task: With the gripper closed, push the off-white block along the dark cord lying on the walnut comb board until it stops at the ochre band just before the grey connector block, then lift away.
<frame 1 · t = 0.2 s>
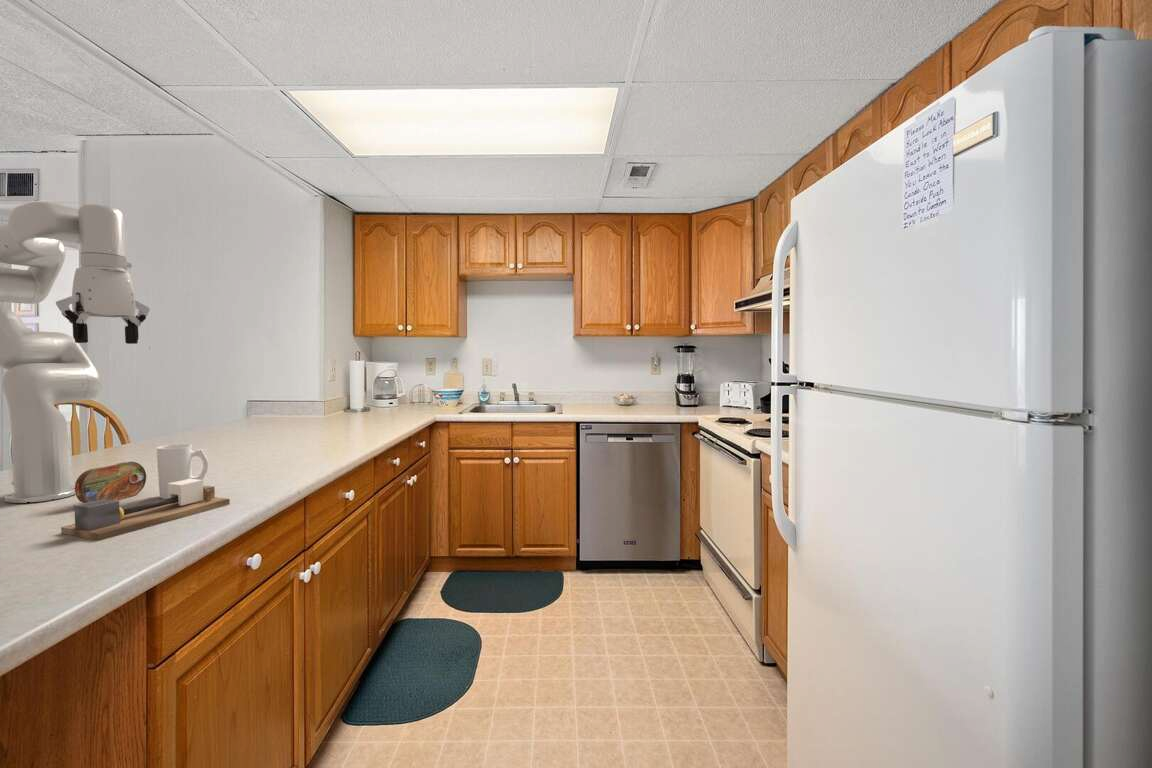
hand: (107, 343, 121), 36 cm above the countertop, tool pointing down, fingers open, 9 cm apart
tin: (112, 501, 129), on the countertop
mug: (184, 495, 134), on the countertop
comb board: (153, 517, 116), on the countertop
off-white block: (185, 491, 122), point 4 cm above the countertop, slide at 0.0 cm
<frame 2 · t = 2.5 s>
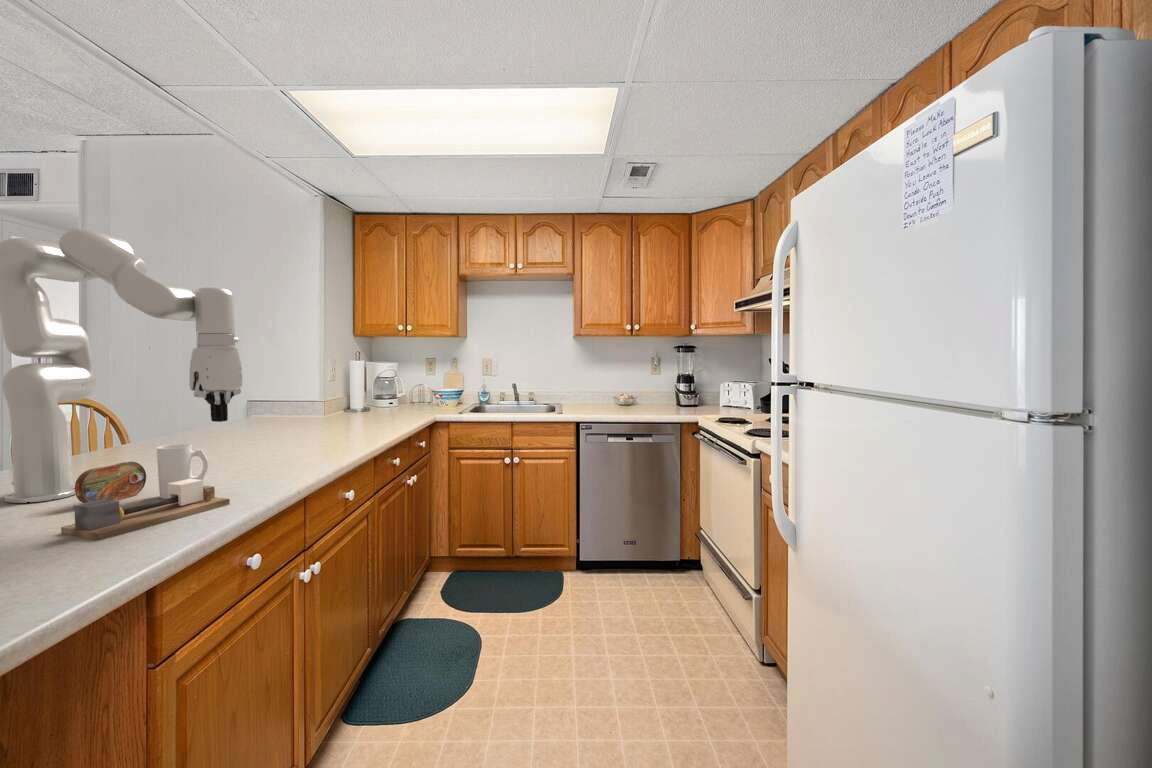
hand: (219, 420, 129), 19 cm above the countertop, tool pointing down, fingers closed
nothing on the countertop moved.
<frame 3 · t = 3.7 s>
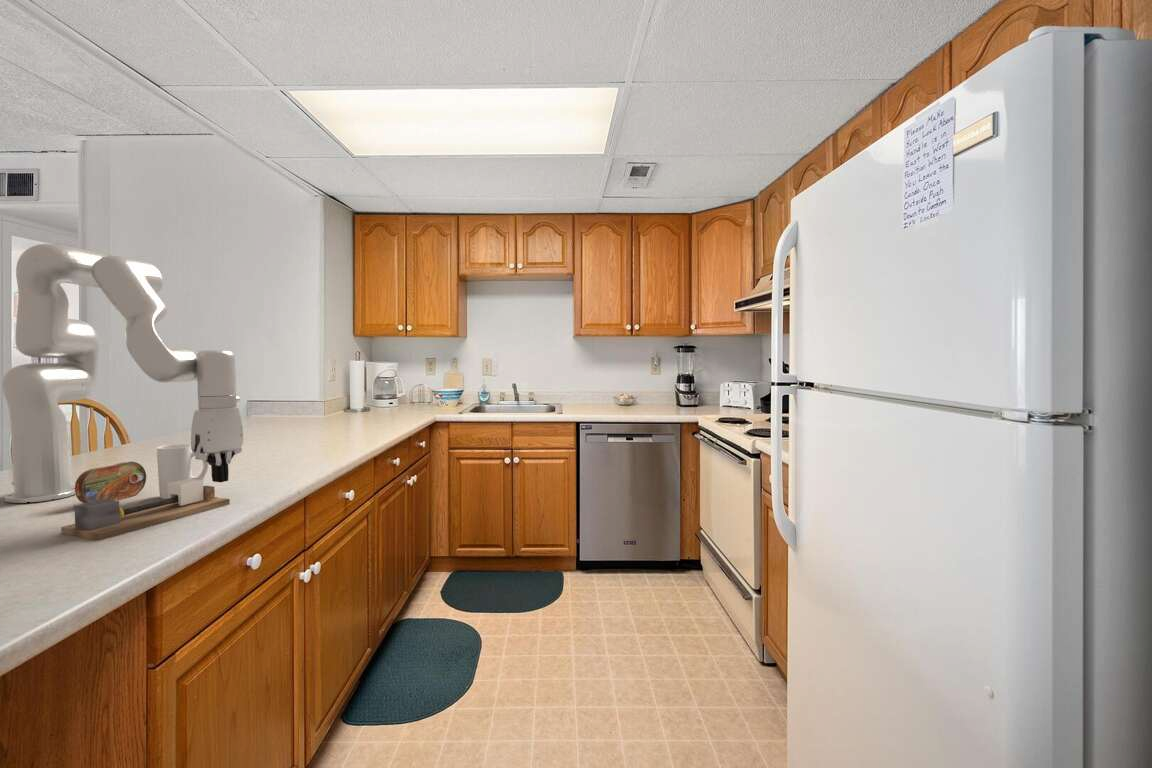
hand: (220, 481, 130), 4 cm above the countertop, tool pointing down, fingers closed
nothing on the countertop moved.
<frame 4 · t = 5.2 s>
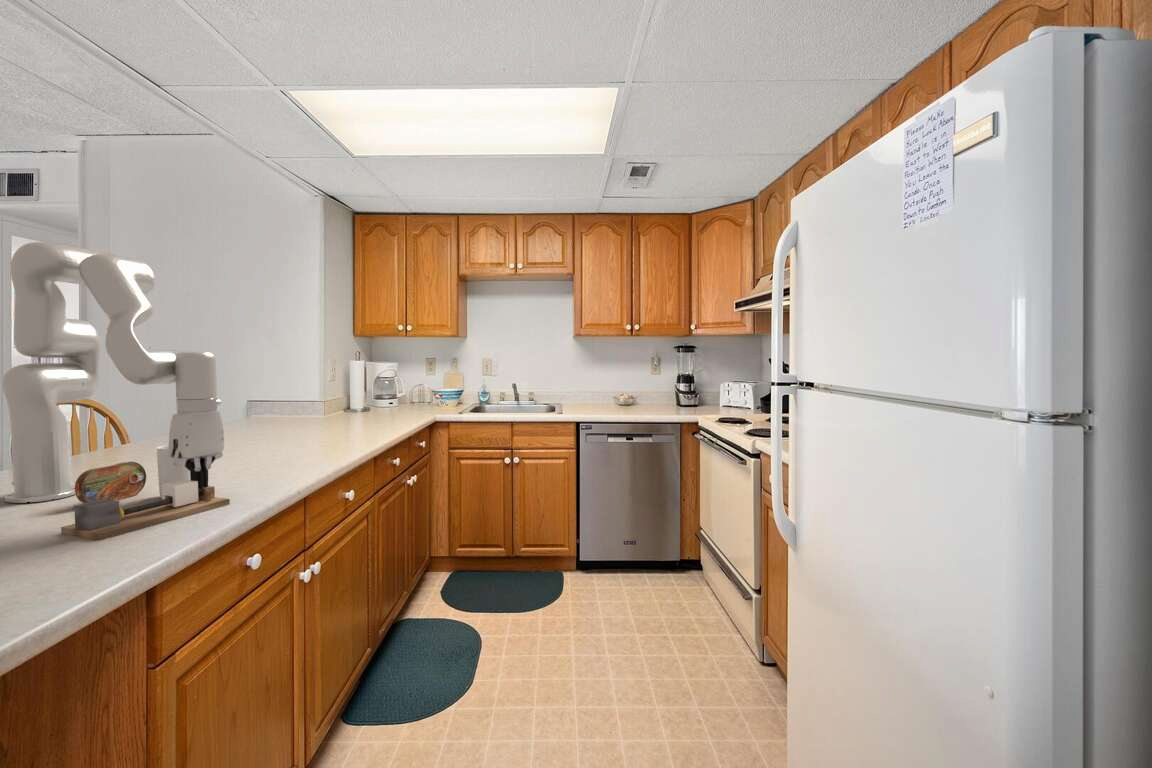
hand: (199, 487, 125), 4 cm above the countertop, tool pointing down, fingers closed
off-white block: (180, 493, 121), point 4 cm above the countertop, slide at 1.2 cm, touching gripper
everything else where it was.
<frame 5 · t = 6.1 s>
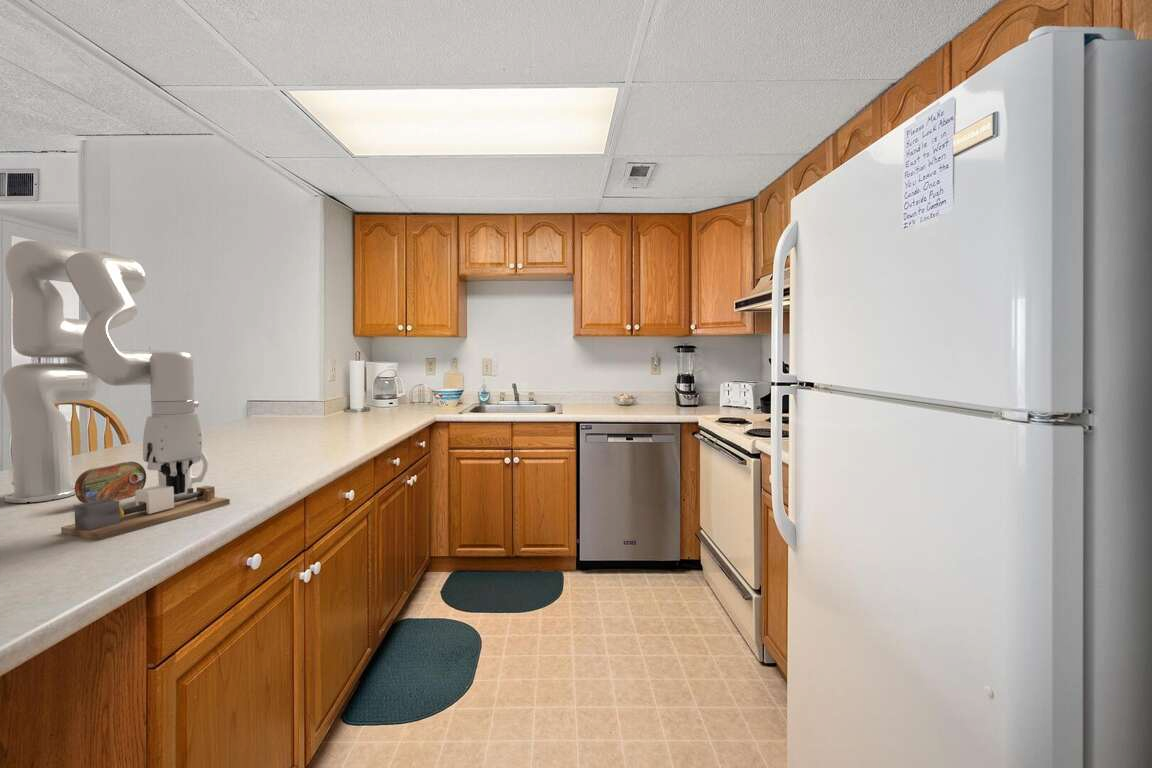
hand: (176, 492, 120), 4 cm above the countertop, tool pointing down, fingers closed
off-white block: (155, 499, 116), point 4 cm above the countertop, slide at 6.5 cm, touching gripper
everything else where it was.
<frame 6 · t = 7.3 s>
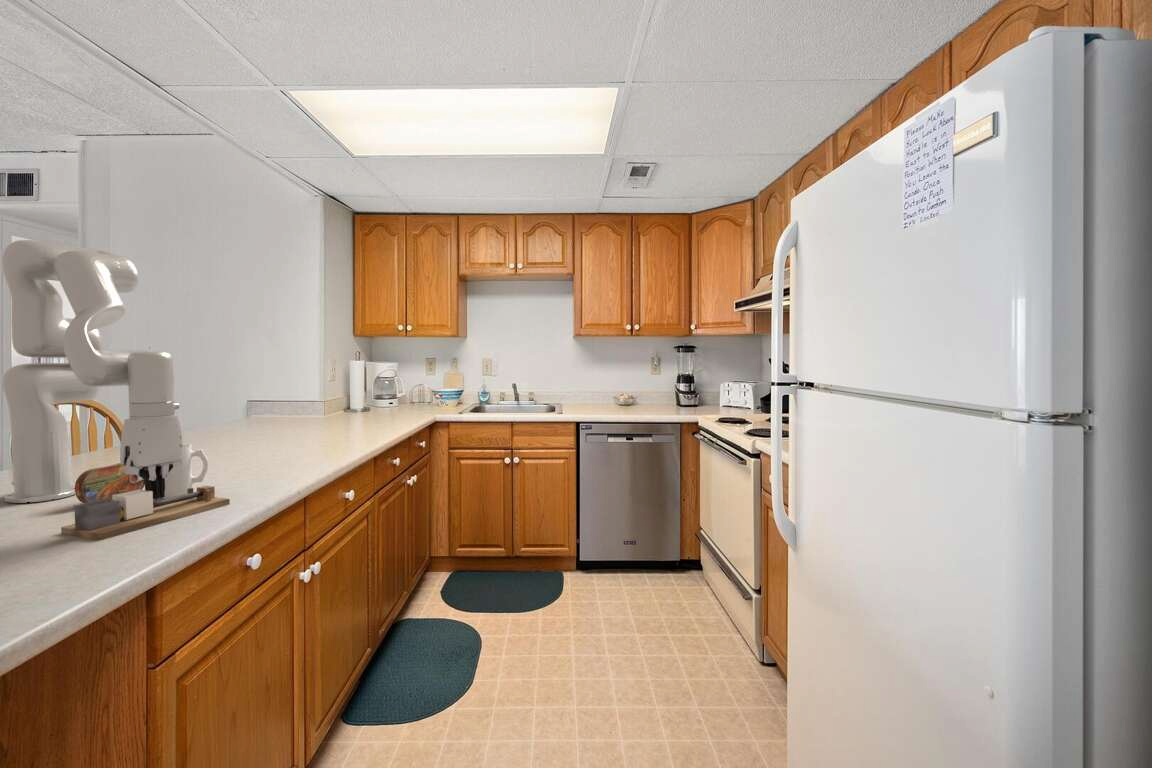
hand: (155, 497, 116), 4 cm above the countertop, tool pointing down, fingers closed
off-white block: (133, 504, 112), point 4 cm above the countertop, slide at 10.7 cm, touching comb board, gripper
everything else where it was.
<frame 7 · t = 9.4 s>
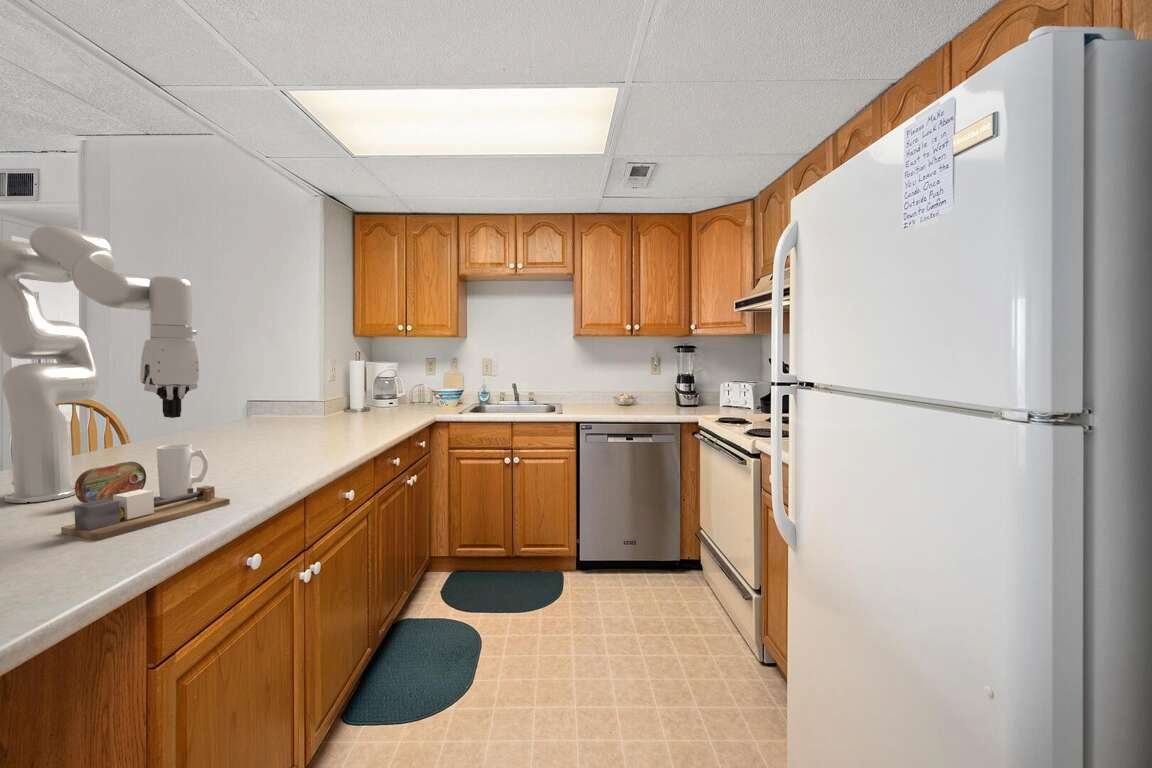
hand: (172, 416, 123), 20 cm above the countertop, tool pointing down, fingers closed
off-white block: (133, 504, 112), point 4 cm above the countertop, slide at 10.6 cm
everything else where it was.
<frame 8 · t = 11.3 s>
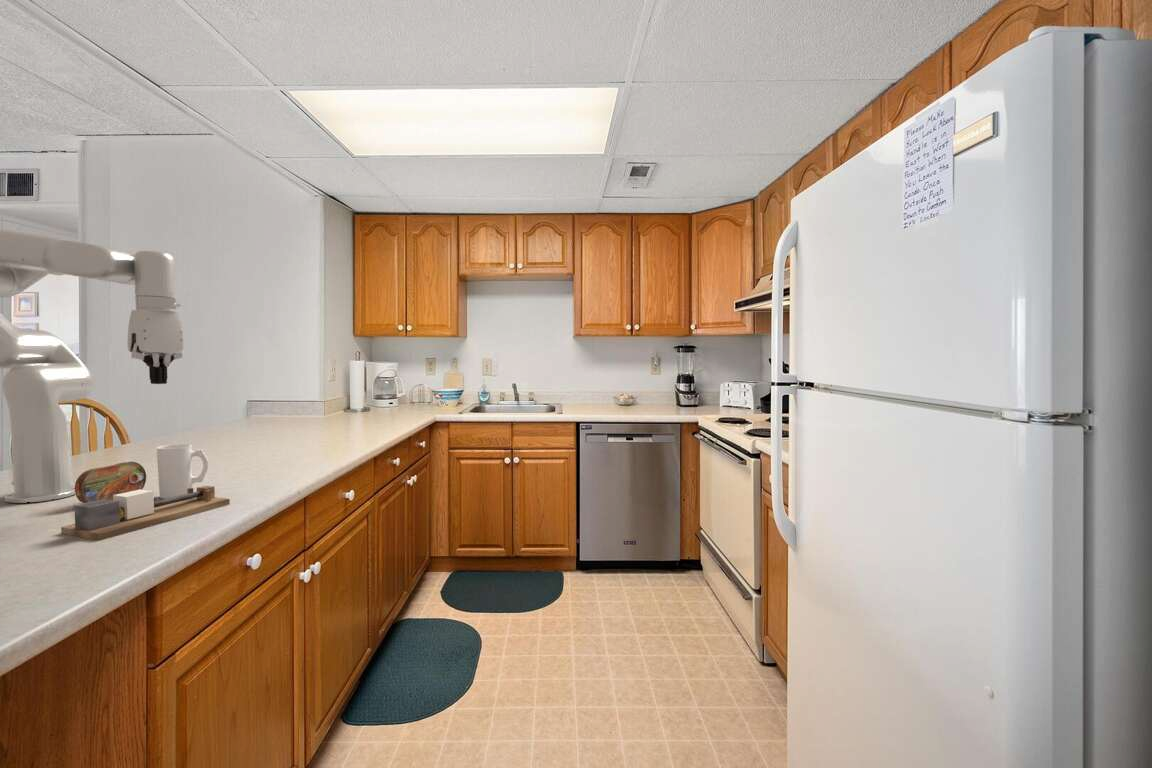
hand: (158, 383, 131), 27 cm above the countertop, tool pointing down, fingers closed
nothing on the countertop moved.
at the end: off-white block slide at 10.6 cm; the gripper is holding nothing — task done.
